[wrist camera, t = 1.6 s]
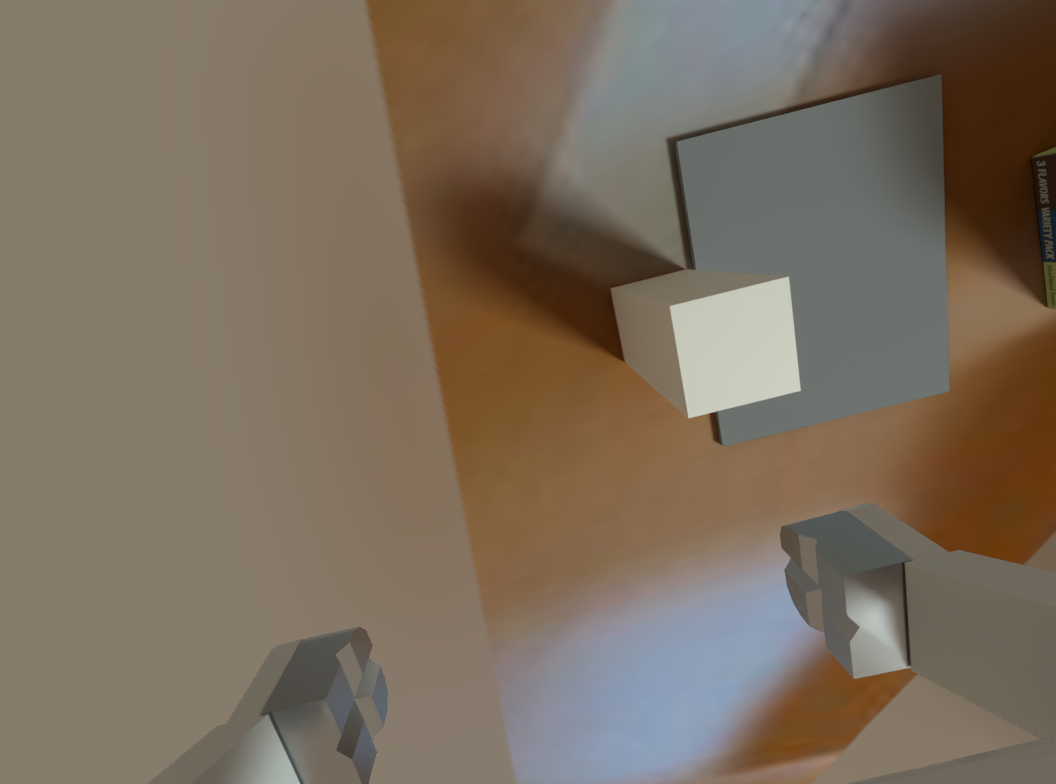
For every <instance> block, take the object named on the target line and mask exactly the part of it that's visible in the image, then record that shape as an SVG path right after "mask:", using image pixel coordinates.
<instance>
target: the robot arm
mask: <svg viewBox="0 0 1056 784" xmlns="http://www.w3.org/2000/svg"><path fill="white" fill-rule="evenodd" d="M780 539H781V547H782V549H783V550H784V551H785V552H786V553H787V554H788V555H789V556H790V557H791V559H790V561H789V563H788V565H787V567H786V568H785V576H786V582H787V587H788V590H789V593H790V595H791V598H792V601H793V603H794V605H795V607H796V608H797V610H798V612H799V613H800V615H801V616H802V618H803V619H804V620H805V621H806V623H807V624H808V625H809V626H810V627H812V628H815V629H817V630H819V631H821V632H824V633H825V640H826V647H827V648H828V649H829V650H830V651H831V653H832V654H833V655H834V656H835V657H836V658H837V660H838V661H839V662H840V663H841V664H842V666H843V667H844V668H845V669H846V670H847V672H848V673H849V674H850V675H851V676H852V677H853V679H856V678H861V677H866V676H871V675H876V674H881V673H886V672H891V671H896V670H901V669H906V668H910V667H911V671H913V672H915V673H917V674H919V675H921V676H923V677H925V678H927V679H929V680H930V681H932V682H934V683H936V684H938V685H940V686H942V687H944V688H946V689H948V690H950V691H951V692H954V693H955V694H957V695H959V696H961V697H963V698H965V699H966V700H968V701H970V702H972V703H974V704H976V705H978V706H980V707H982V708H983V709H986V710H987V711H989V712H991V713H993V714H995V715H997V716H999V717H1001V718H1002V719H1004V720H1006V721H1008V722H1010V723H1012V724H1014V725H1016V726H1018V727H1019V728H1021V729H1023V730H1025V731H1027V732H1029V733H1031V734H1033V735H1035V736H1037V737H1039V738H1040V740H1036V741H1032V742H1027V743H1023V744H1019V745H1014V746H1010V747H1006V748H1001V749H997V750H993V751H988V752H984V753H980V754H976V755H971V756H967V757H963V758H958V759H954V760H949V761H945V762H941V763H937V764H932V765H928V766H923V767H919V768H915V769H911V770H906V771H902V772H897V773H893V774H888V775H884V776H879V777H875V778H871V779H866V780H862V781H857V782H853V783H849V784H1056V573H1054V572H1050V571H1045V570H1041V569H1037V568H1033V567H1029V566H1024V565H1020V564H1016V563H1012V562H1008V561H1003V560H999V559H995V558H991V557H986V556H982V555H978V554H974V553H969V552H965V551H961V550H957V551H953V552H948V551H946V550H945V549H943V548H942V547H940V546H939V545H937V544H935V543H934V542H932V541H931V540H929V539H928V538H926V537H925V536H923V535H922V534H920V533H918V532H917V531H915V530H914V529H912V528H911V527H909V526H908V525H906V524H905V523H903V522H902V521H900V520H898V519H897V518H895V517H894V516H892V515H891V514H889V513H888V512H886V511H885V510H883V509H882V508H880V507H878V506H877V505H874V504H869V503H866V504H862V505H858V506H855V507H851V508H848V509H844V510H840V511H838V512H835V513H831V514H828V515H824V516H820V517H816V518H812V519H808V520H804V521H800V522H796V523H792V524H788V525H785V526H781V532H780ZM372 646H373V645H372V643H371V641H370V638H369V636H368V634H367V631H366V630H365V629H363V628H361V627H356V628H352V629H348V630H343V631H338V632H333V633H329V634H324V635H319V636H315V637H310V638H307V639H301V640H297V641H293V642H289V643H285V644H281V645H278V646H276V647H275V648H273V649H272V650H271V651H270V653H269V655H268V656H267V658H266V660H265V661H264V663H263V664H262V666H261V668H260V669H259V671H258V673H257V674H256V676H255V678H254V679H253V681H252V682H251V684H250V686H249V687H248V689H247V690H246V692H245V694H244V695H243V697H242V699H241V700H240V702H239V704H238V705H237V707H236V709H235V710H234V712H233V713H232V715H231V717H230V718H229V720H228V721H227V723H226V724H224V725H220V726H216V727H215V728H214V729H213V730H211V731H210V732H209V733H208V734H207V735H205V736H204V737H203V738H202V739H201V740H200V741H198V742H197V743H196V744H195V745H193V746H192V747H191V748H190V749H189V750H187V751H186V752H185V753H184V754H183V755H181V756H180V757H179V758H178V759H177V760H176V761H174V762H173V763H172V764H171V765H169V767H167V768H166V769H165V770H163V771H162V772H161V773H160V774H159V775H157V776H156V777H155V778H154V779H153V780H151V781H150V782H149V783H148V784H368V783H369V779H370V775H371V772H372V768H373V764H374V761H375V757H376V753H377V751H376V749H375V746H374V744H373V741H372V740H373V739H374V737H375V736H376V735H377V734H378V732H379V731H380V730H381V729H382V728H383V727H384V722H385V718H386V714H387V700H388V697H387V696H388V691H387V686H386V681H385V677H384V674H383V672H382V669H381V666H379V665H378V664H376V663H375V662H373V661H372V660H370V659H369V655H370V652H371V649H372Z"/></svg>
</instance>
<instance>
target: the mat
mask: <svg viewBox="0 0 1056 784" xmlns="http://www.w3.org/2000/svg"><path fill="white" fill-rule="evenodd" d="M674 146H675V153H676V159H677V166H678V172H679V179H680V185H681V192H682V198H683V205H684V212H685V218H686V225H687V231H688V238H689V244H690V251H691V257H692V264H693V270H704V271H718V272H733V273H747V274H761V275H776V276H789V282H790V292H791V301H792V311H793V321H794V330H795V340H796V349H797V359H798V368H799V378H800V388H801V391H798V392H794V393H790V394H786V395H782V396H778V397H774V398H770V399H765V400H761V401H757V402H753V403H749V404H745V405H741V406H737V407H733V408H729V409H725V410H721V411H716V412H715V414H716V421H717V428H718V434H719V441H720V444H721V445H722V446H728V445H732V444H736V443H740V442H744V441H748V440H752V439H756V438H760V437H765V436H769V435H773V434H777V433H781V432H785V431H789V430H793V429H797V428H801V427H806V426H810V425H814V424H818V423H822V422H826V421H830V420H834V419H838V418H843V417H847V416H851V415H855V414H859V413H863V412H867V411H871V410H875V409H880V408H884V407H888V406H892V405H896V404H900V403H904V402H908V401H912V400H917V399H921V398H925V397H929V396H933V395H937V394H941V393H945V392H949V362H948V320H947V278H946V236H945V195H944V153H943V111H942V74H939V75H936V76H932V77H928V78H924V79H920V80H916V81H912V82H908V83H904V84H900V85H896V86H893V87H889V88H885V89H881V90H877V91H873V92H869V93H865V94H861V95H857V96H853V97H849V98H846V99H842V100H838V101H834V102H830V103H826V104H822V105H818V106H814V107H810V108H806V109H803V110H799V111H795V112H791V113H787V114H783V115H779V116H775V117H771V118H767V119H763V120H759V121H756V122H752V123H748V124H744V125H740V126H736V127H732V128H728V129H724V130H720V131H716V132H713V133H709V134H705V135H701V136H697V137H693V138H689V139H685V140H681V141H677V142H675V143H674Z"/></svg>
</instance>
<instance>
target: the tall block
mask: <svg viewBox="0 0 1056 784" xmlns="http://www.w3.org/2000/svg"><path fill="white" fill-rule="evenodd" d="M610 292H611V297H612V302H613V307H614V313H615V318H616V323H617V328H618V333H619V338H620V343H621V348H622V353H623V358H624V362H625V363H626V364H627V365H628V366H630V367H631V368H632V369H633V370H634V371H635V372H636V373H638V374H639V375H640V376H641V377H642V378H643V379H644V380H646V381H647V382H648V383H649V384H650V385H651V386H652V387H653V388H655V389H656V390H657V391H658V392H659V393H660V394H661V395H663V396H664V397H665V398H666V399H667V400H668V401H669V402H671V403H672V404H673V405H674V406H675V407H676V408H677V409H679V410H680V411H681V412H682V413H683V414H684V415H685V416H686V417H688V418H692V417H696V416H700V415H704V414H708V413H712V412H716V411H721V410H725V409H729V408H733V407H737V406H741V405H745V404H749V403H753V402H757V401H761V400H765V399H770V398H774V397H778V396H782V395H786V394H790V393H794V392H798V391H801V388H800V378H799V368H798V359H797V349H796V340H795V330H794V321H793V311H792V301H791V292H790V282H789V276H776V275H761V274H747V273H733V272H718V271H704V270H690V269H684V270H680V271H676V272H672V273H668V274H664V275H660V276H656V277H652V278H648V279H644V280H640V281H636V282H632V283H628V284H624V285H620V286H616V287H612V288H610Z"/></svg>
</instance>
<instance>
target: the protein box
mask: <svg viewBox="0 0 1056 784" xmlns="http://www.w3.org/2000/svg"><path fill="white" fill-rule="evenodd" d="M1032 165H1033V174H1034V182H1035V191H1036V201H1037V210H1038V221H1039V230H1040V240H1041V249H1042V258H1043V267H1044V277H1045V286H1046V296H1047V306H1048V308H1050V309H1056V147H1054V148H1052V149H1049V150H1047V151H1044V152H1042V153H1040V154H1037V155H1034V156H1033V157H1032Z"/></svg>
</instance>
